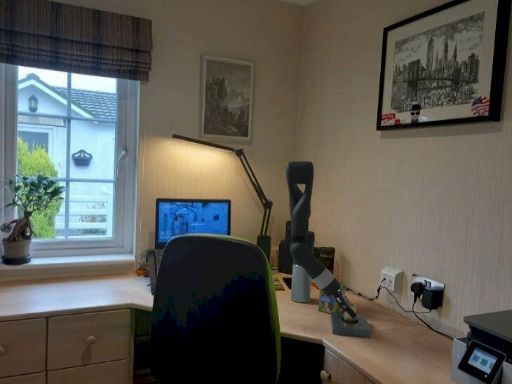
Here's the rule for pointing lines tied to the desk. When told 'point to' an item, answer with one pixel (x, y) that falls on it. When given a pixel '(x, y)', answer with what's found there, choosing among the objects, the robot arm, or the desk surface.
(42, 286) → the desk surface
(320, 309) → the chalk box
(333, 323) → the jig plate
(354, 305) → the brass sleeve
